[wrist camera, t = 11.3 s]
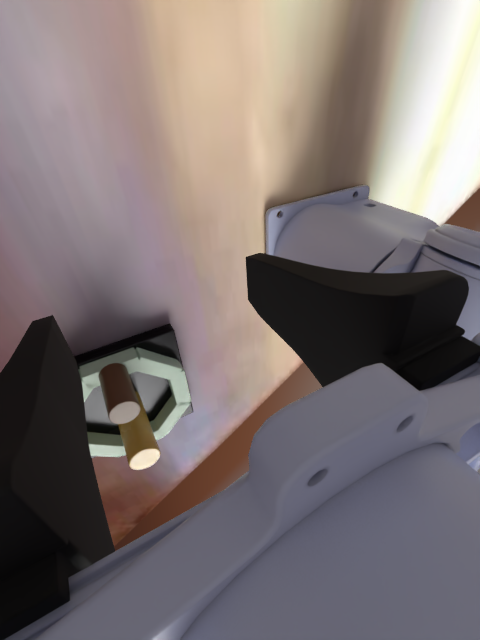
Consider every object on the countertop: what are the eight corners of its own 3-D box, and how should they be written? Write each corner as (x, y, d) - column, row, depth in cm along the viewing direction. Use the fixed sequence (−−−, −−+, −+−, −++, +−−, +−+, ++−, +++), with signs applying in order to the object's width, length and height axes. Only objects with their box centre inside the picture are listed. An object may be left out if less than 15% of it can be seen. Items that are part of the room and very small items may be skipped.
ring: (191, 412, 29) (213, 456, 26) (83, 461, 26) (92, 518, 23) (171, 329, 23) (196, 371, 20) (29, 379, 20) (30, 439, 17)
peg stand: (169, 322, 24) (204, 379, 20) (189, 404, 30) (219, 463, 25) (28, 372, 21) (29, 453, 16) (81, 452, 27) (93, 530, 22)
